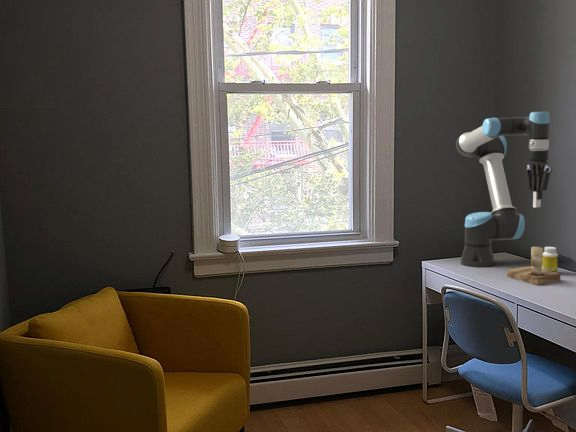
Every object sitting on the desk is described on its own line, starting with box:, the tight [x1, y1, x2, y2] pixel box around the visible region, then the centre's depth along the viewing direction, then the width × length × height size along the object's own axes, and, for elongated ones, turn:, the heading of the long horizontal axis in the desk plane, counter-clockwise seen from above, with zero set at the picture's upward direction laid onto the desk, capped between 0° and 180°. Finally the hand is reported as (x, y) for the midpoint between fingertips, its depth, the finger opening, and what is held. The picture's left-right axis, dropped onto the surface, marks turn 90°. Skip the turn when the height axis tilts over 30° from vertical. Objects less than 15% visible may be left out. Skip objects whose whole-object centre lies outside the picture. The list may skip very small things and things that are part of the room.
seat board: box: [506, 265, 561, 286], centre depth 256 cm, size 16×13×3 cm
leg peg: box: [530, 246, 544, 276], centre depth 251 cm, size 4×4×14 cm
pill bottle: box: [542, 246, 559, 273], centre depth 264 cm, size 6×6×11 cm
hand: (536, 207), depth 256 cm, fingers closed
